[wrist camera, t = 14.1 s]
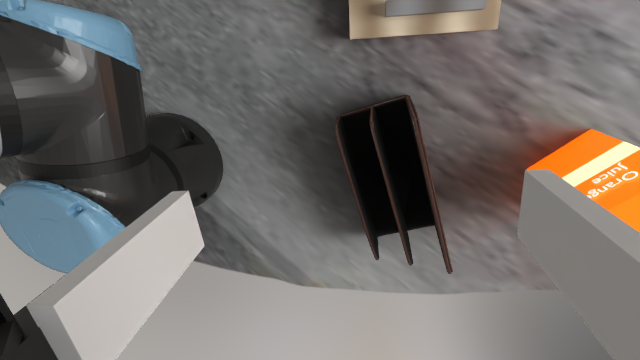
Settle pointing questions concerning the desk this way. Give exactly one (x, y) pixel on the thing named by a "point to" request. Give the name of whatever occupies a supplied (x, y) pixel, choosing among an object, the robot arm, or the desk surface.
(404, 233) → the letter holder
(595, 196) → the orange juice
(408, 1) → the box
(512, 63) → the desk surface
